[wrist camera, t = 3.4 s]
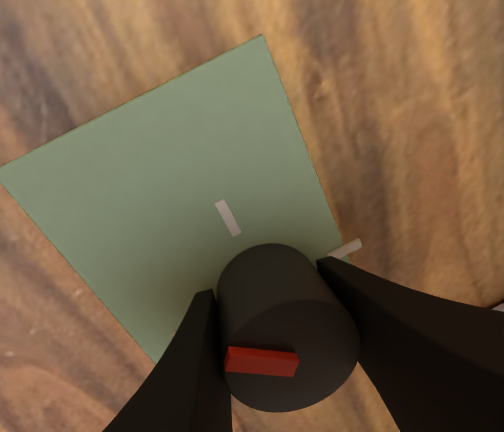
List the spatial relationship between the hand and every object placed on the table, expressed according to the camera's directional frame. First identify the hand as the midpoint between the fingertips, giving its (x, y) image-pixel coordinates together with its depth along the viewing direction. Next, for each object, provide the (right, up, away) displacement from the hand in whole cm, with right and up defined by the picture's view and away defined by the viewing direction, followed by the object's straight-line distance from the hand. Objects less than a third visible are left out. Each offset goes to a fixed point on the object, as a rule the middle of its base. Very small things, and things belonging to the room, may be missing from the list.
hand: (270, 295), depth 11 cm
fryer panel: (-2, +2, +3) cm, 4 cm away
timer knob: (0, 0, 0) cm, 0 cm away
